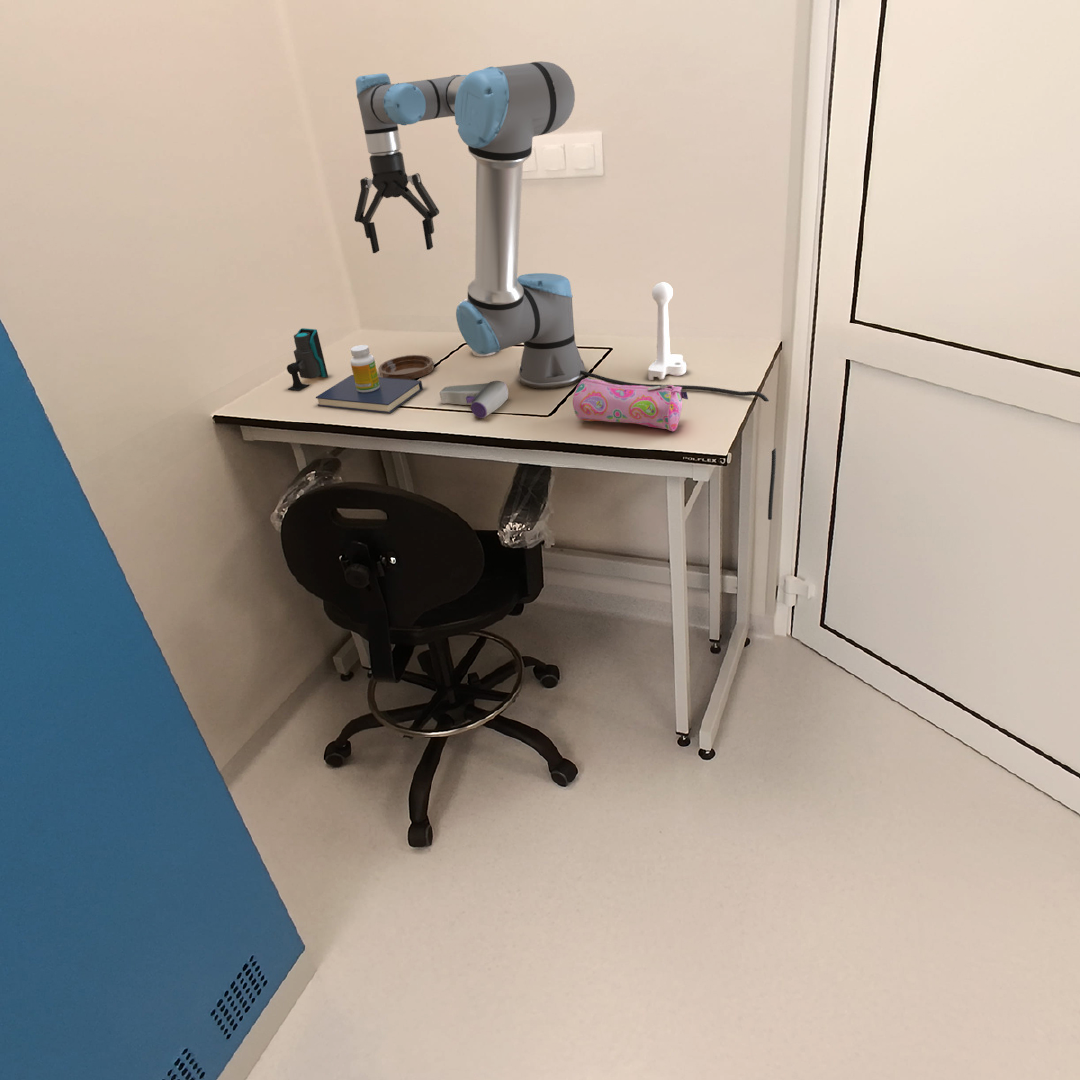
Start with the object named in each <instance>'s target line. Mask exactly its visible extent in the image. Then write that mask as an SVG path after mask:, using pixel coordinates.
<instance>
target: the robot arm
mask: <svg viewBox="0 0 1080 1080" xmlns="http://www.w3.org/2000/svg"><path fill="white" fill-rule="evenodd" d="M355 87H356V98H357V101H358V107H359V111H360V116H361V121H362V125H363V130H364V131H363V132H364V135H365V136H364V137H365V142H366V148H367V153H369V154H370V156H369V163H370V168H371V173H372V178H369V177H367V176H366V177H363V178H361V179H360V193H359V197H358V201H357V205H356V210H355V215H354V221H355V222H356V223H361V224H362V225H363V229H364V234H365V237H366V238H367V239H369V241H370V245H371V251H372V254H377V253H378V252H379V251H380V245H379V240H378V235H377V231H376V226H375V225H376V224H375V222H374V221H372V219H373V217H374V215H375V213H376V211H377V209H378V207H379V206H380V204H381V202H382V200H383V199H384V198H385V199H390V198H400V197H402V198H403V199H405V200H406V201H407V202H408V203H409V204H410V205H411V207H413V208H414V209H415V211H417V212H418V214H419V215H421V216H422V218H424V219H422V221H421V222H422V228H423V234H424V240H425V246H426V251H429V250H431V249H433V248H434V243H433V237H432V235H433V234H435V226H434V220H433V219H434V218H435V217H437V216H439V214H440V210H439V208H438V207H437V205H436V203H435V201H434V200H433V198H432V197H431V196H430V194H429V192H428V190H427V188H426V187H425V186H424V184H423V182H422V178H421V175H420V173H419V172H415V173H414V174H412V175H408V174H407V173H406V172H407V171H406V167H405V160H404V155H403V153H402V151H401V149H402V144H401V137H400V131H399V126H398V125H401V126H409V125H414V124H416V123H418V122H424V121H429V120H435V119H441V118H449V117H454V121H455V125H457V127H458V128H457V132H458V135H459V137H460V138H461V140H462V141H463V143H464V144H465V145H467V150H468V153H469V154H470V155H471V156H472V157H473V158H474V159H475V161H476V163H475V164H476V166H475V167H476V170H475V171H476V173H475V175H476V177H475V187H476V188H475V251H474V252H475V254H474V255H475V258H474V259H475V261H474V271H475V272H474V279H473V280H471V282H469V284H468V286H467V299H468V300H467V301H463V300H461V301H462V303H460V302H459V304H458V305H457V307H456V311H455V318H456V323H457V327H458V329H459V332H460V335H461V336H462V338H463V340H464V342H465V343H466V344H467V346H468V347H469V348H470V349H471V351H472V350H473V351H475V352H476V353H478V354H482V355H486V354H489V353H493V352H495V354H496V353H499V352H500V351H502V350H506V349H509V348H512V347H514V346H517V345H520V344H523V351H522V355H521V359H520V360H521V361H520V366H519V367H517V369H518V370H517V371H518V374H519V375H518V376H519V377H518V378H519V382H520V384H522V385H524V386H526V387H529V388H533V389H541V390H542V389H543V390H545V389H546V390H547V389H549V390H550V389H559V388H563V387H567V386H572V385H574V384H576V383H578V382H581V380H583V379H585V376H586V377H588V378H592V379H595V380H601V381H604V382H606V383H610V384H615V385H636V386H649V387H655V386H661V385H662V384H652V383H651V384H650V383H635V382H629V381H623V380H618V379H614V378H609V377H605V376H604V375H603V376H602V375H599V374H595V373H592V372H589V371H586V367H585V363H584V361H583V360H582V357H581V354H580V352H579V348H578V347H577V343H576V338H575V337H576V336H575V323H574V311H573V294H572V293H573V292H572V288H571V281H570V279H568V278H567V277H566V276H564V275H562V274H558V273H557V274H556V273H547V272H535V273H525V274H521V275H519V276H518V267H519V250H520V249H519V247H520V231H521V230H520V228H521V210H522V209H521V208H522V191H523V188H522V186H523V168H524V167H523V165H524V163H525V162H526V161H527V160H528V159H529V158H530V157H531V156H532V152H533V139H534V138H535V137H538V136H543V135H548V134H551V133H553V132H555V131H557V130H559V129H561V127H562V126H563V125H565V124H566V122H567V121H568V120H569V118H570V117H571V115H572V112H573V110H574V107H575V101H576V93H575V86H574V84H573V81H572V79H571V77H570V76H569V74H568V73H567V71H566V70H565V69H564V68H562V67H561V66H559V65H558V64H555V63H553V62H550V61H532V62H526V63H519V64H511V65H501V66H487V67H484V68H483V69H477V70H474V71H472V72H469V74H453V75H451V76H450V75H449V76H443V77H437V78H431V79H423V80H422V79H421V80H415V81H414V80H413V81H406V82H397V83H392V82H391V79H390V77H389V75H388V73H384V72H383V73H375V74H374V73H373V74H372V73H371V74H365V75H360V76H357V77H356V79H355ZM409 183H410V184H411V185H412V186H413V187H414V188H415V190H416V192H417V194H418V196H419V197H420V199H421V200H422V202H423V203H422V202H421V200H419V199H418V198H417V197H416V196H415V195H414V194H413V191H411V189H410V188H409V187H408V184H409ZM372 186H373V187H374V188H375V189H376V192H375V194H374V196H373V199H372V201H371V203H370V205H369V207H368V209H367V210H366V206H367V202H368V198H369V193H370V189H371V188H372ZM365 211H366V212H365ZM364 214H365V215H364ZM665 385H666V386H668V385H669V384H665ZM672 385H673V386H676V387H677V386H678V387H682V389H681V390H691V391H693V390H694V391H705V392H706V391H707V392H712V393H713V392H714V393H721V394H726V395H733V396H741V397H747V396H750V397H751V396H756V397H758V398H760V399H761V400H762V401H764V402H769V401H770V399H769V398H768V397H767V396H766V395H764V393H762V392H759V391H756V390H755V391H754V390H751V391H750V390H749V391H740V390H731V389H727V388H719V387H712V386H701V385H686V384H685V385H683V384H682V385H681V384H672ZM776 462H777V447H774V449H773V450H771V468H770V480H769V481H770V482H769V492H768V508H767V520H769V521H772V520H773V502H774V490H775V479H776V464H777V463H776Z"/></svg>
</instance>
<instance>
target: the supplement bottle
mask: <svg viewBox="0 0 1080 1080" xmlns="http://www.w3.org/2000/svg"><path fill="white" fill-rule="evenodd" d="M370 352H371V351H370V348H369V345H367V344H360V345H354V346H353V347H351V348H350V353H351V356H352V358H350V366H351V371H352V375H353V376H354V380H355V384H356V389H357V391H359V392H362V393H366V392H372V391H375V390H377V389H378V388H379V387H380V383H379V378H378V377H379V373H378V369H377V365H376V359H375V357H374V355H372V354H370Z"/></svg>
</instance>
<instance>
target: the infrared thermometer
mask: <svg viewBox="0 0 1080 1080" xmlns="http://www.w3.org/2000/svg"><path fill="white" fill-rule="evenodd" d="M439 398H440V403H441V404H453V405H461V406H463V405H465V406H467V405H468V406H470V410H471V413H472V414H473V415H474V416H475V417H477V418H479V419H485V418H486V417H488V416H489V415H491V414H492V413H493V412H495V411H496V410H498V409H499V408H501V406H503V405H504V403H505V402H506V401H507V400H508V399H509V389H508V386H507V384H506V382H504V381H502V380H493V381H490V382H486V383H485V382H484V383H475V384H461V385H450V386H444V387H443V388H442V389H441V390H440V391H439Z"/></svg>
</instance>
